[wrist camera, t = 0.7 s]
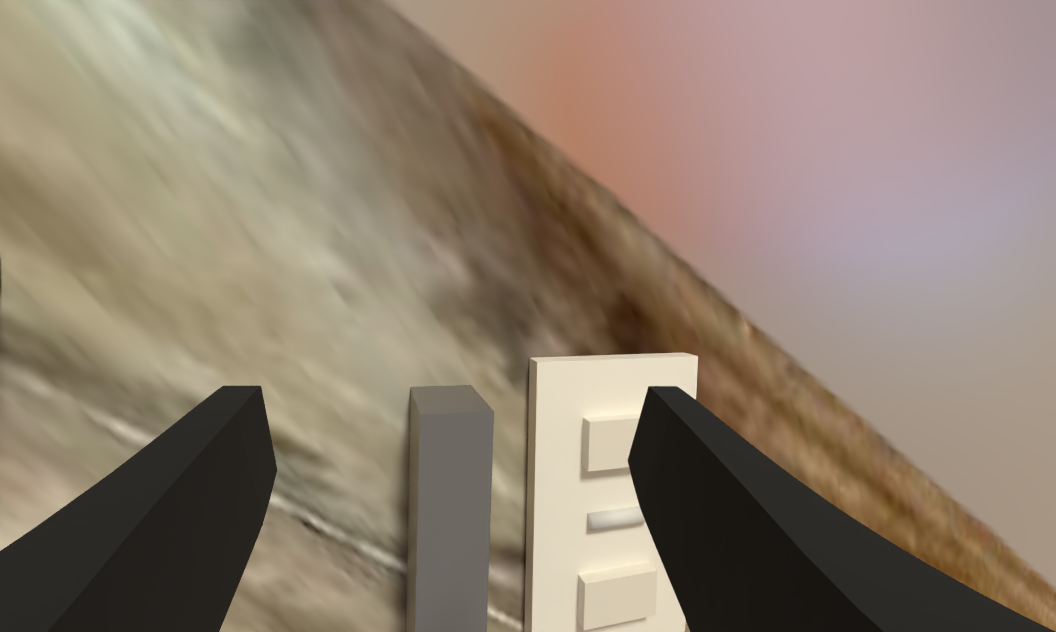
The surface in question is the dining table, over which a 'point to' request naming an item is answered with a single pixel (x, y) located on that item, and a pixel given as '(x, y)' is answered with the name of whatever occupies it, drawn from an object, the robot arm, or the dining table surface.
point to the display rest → (594, 496)
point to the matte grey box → (448, 509)
